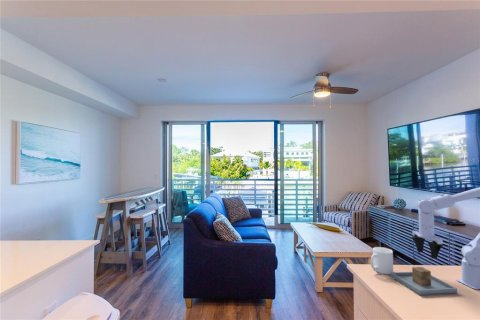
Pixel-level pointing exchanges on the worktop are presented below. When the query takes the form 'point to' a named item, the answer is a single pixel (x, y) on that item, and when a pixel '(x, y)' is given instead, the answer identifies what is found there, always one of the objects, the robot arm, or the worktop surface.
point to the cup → (382, 260)
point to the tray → (434, 289)
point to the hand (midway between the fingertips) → (427, 254)
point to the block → (421, 276)
